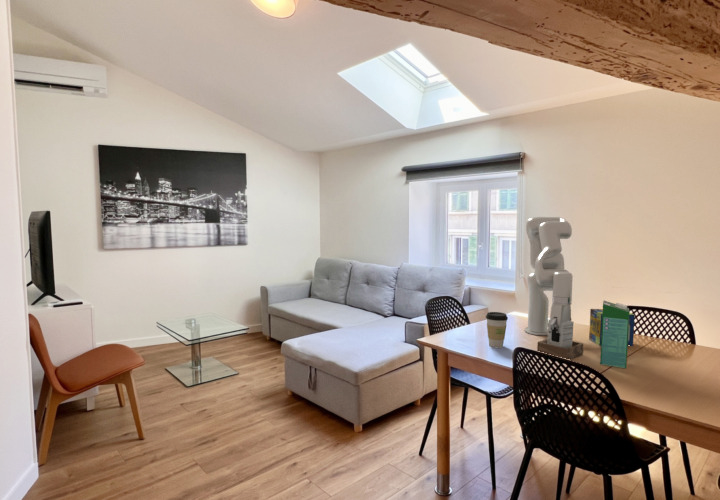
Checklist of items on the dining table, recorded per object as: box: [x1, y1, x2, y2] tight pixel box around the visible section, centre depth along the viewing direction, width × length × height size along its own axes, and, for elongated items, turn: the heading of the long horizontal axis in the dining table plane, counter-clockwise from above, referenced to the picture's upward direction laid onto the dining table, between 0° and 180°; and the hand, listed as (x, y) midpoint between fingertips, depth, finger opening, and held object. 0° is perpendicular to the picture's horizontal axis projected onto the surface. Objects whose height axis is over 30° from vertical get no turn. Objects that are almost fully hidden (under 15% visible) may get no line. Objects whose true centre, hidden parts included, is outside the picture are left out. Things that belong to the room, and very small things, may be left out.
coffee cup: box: [485, 311, 508, 349], centre depth 190 cm, size 10×10×15 cm
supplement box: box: [547, 319, 574, 349], centre depth 178 cm, size 7×7×13 cm
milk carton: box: [599, 300, 630, 369], centre depth 166 cm, size 9×9×25 cm
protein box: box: [588, 308, 636, 347], centre depth 194 cm, size 10×15×16 cm
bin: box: [536, 337, 584, 361], centre depth 178 cm, size 13×13×5 cm
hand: (560, 339), depth 178 cm, fingers closed on supplement box, 8 cm apart
